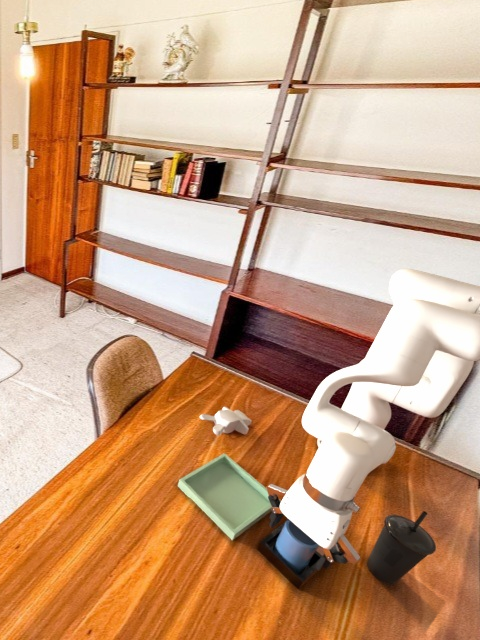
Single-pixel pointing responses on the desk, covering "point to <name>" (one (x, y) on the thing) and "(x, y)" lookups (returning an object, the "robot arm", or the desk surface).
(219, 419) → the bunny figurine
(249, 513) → the tray
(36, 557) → the desk surface
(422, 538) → the drinking cup
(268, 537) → the black divided tray
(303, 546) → the blue cup
